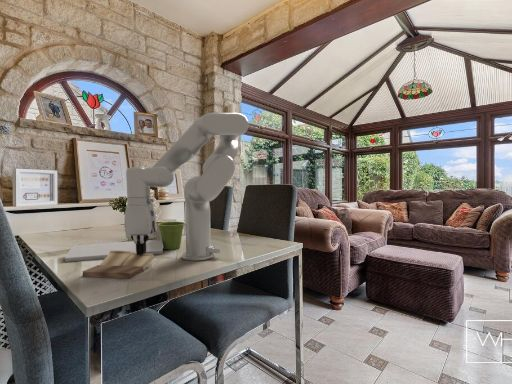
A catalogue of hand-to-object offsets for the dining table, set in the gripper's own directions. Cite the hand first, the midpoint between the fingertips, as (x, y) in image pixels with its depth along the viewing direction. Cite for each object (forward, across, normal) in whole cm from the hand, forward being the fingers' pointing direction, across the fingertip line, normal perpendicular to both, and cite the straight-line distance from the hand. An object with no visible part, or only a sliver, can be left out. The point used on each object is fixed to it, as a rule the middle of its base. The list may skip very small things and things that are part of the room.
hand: (141, 253), depth 96 cm
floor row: (+4, +3, +10) cm, 12 cm away
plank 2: (+3, 0, +3) cm, 4 cm away
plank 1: (+2, +7, +3) cm, 8 cm away
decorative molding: (+5, +18, -12) cm, 22 cm away
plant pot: (+5, +2, -26) cm, 27 cm away
